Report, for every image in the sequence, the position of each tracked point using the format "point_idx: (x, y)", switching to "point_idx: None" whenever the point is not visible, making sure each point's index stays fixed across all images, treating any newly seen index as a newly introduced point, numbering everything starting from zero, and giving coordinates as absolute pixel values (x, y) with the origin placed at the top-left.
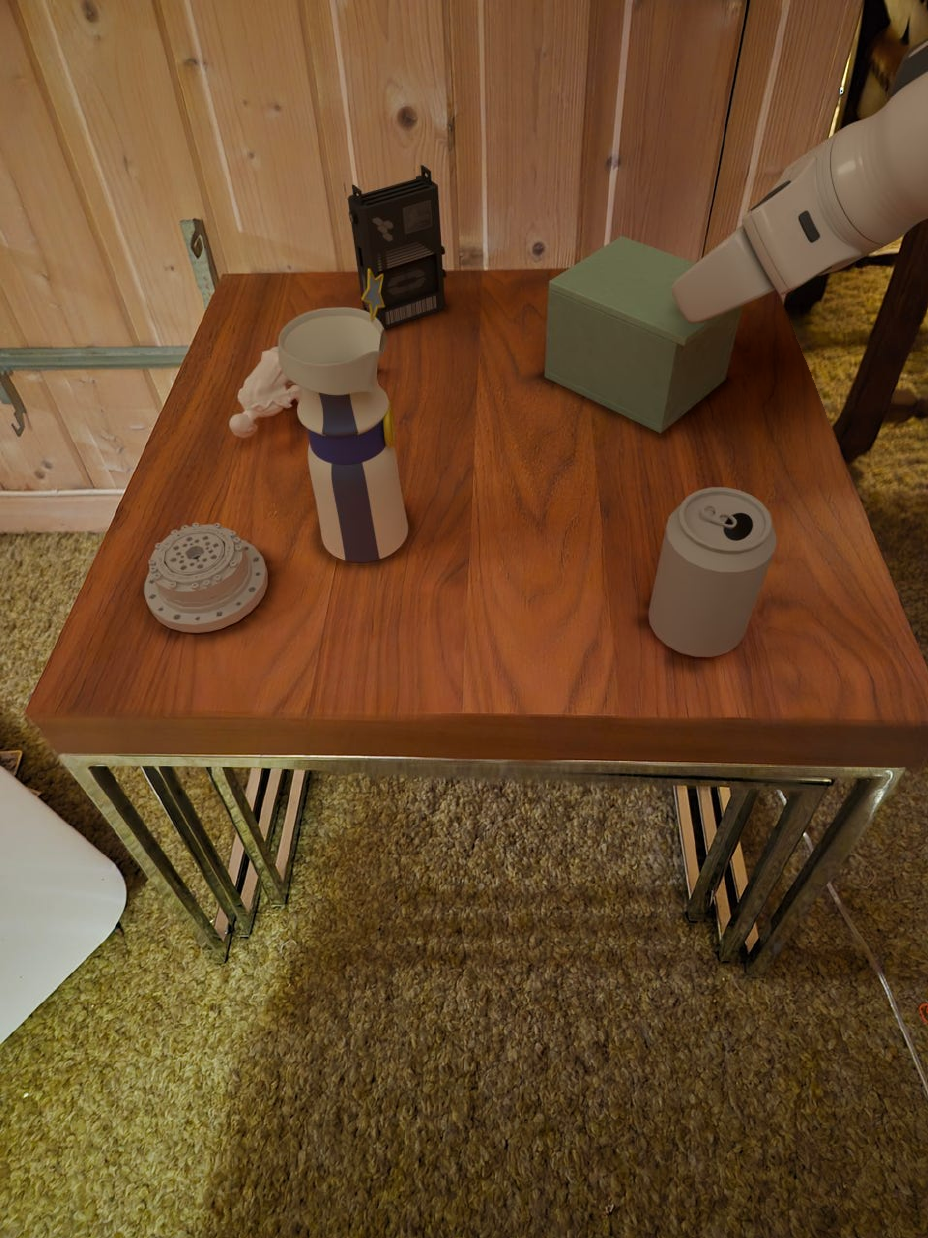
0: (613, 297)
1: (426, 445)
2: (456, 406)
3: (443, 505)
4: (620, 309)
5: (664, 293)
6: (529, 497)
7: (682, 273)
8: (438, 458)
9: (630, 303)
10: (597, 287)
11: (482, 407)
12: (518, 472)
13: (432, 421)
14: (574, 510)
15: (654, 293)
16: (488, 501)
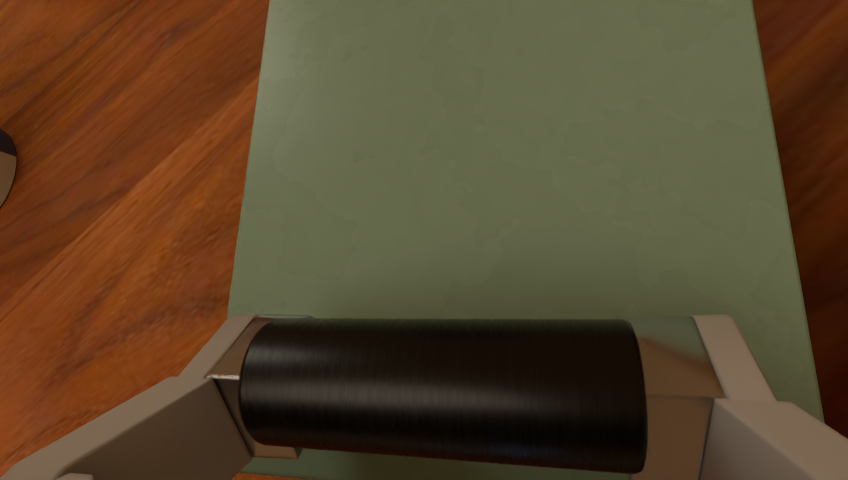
0: (305, 94)
1: (137, 102)
2: (236, 58)
3: (43, 222)
4: (254, 160)
5: (440, 205)
6: (106, 313)
7: (636, 160)
8: (121, 138)
9: (305, 159)
10: (332, 17)
11: (256, 88)
12: (147, 255)
13: (187, 63)
14: (111, 397)
15: (413, 178)
16: (74, 267)
